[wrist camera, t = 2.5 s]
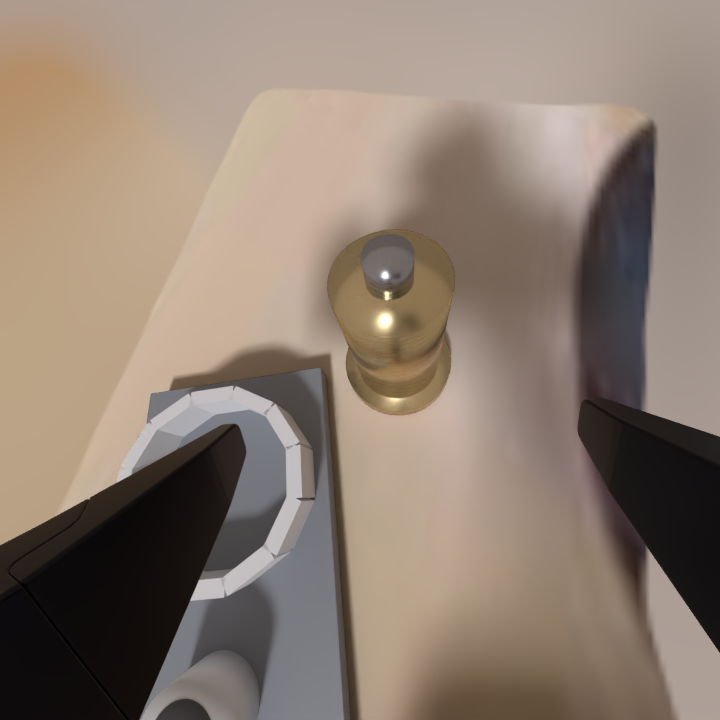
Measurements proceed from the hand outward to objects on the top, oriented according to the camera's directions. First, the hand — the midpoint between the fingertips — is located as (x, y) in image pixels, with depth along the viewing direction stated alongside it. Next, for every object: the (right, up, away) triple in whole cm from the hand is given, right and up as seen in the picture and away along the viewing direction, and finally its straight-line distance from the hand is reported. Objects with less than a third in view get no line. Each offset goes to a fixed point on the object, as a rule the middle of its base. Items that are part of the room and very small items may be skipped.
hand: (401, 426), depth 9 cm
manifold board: (-8, -11, +10) cm, 17 cm away
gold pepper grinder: (+1, +1, +14) cm, 14 cm away
